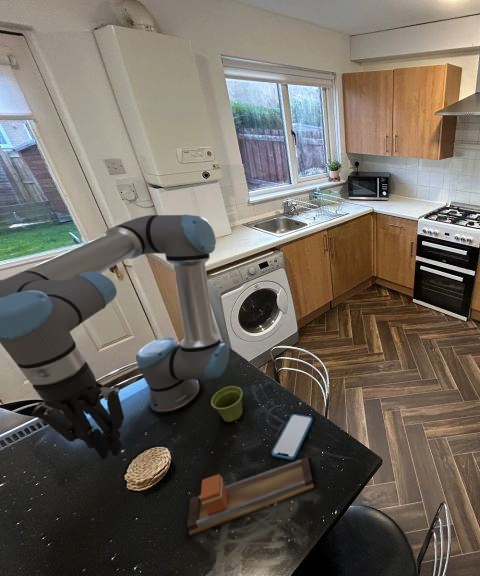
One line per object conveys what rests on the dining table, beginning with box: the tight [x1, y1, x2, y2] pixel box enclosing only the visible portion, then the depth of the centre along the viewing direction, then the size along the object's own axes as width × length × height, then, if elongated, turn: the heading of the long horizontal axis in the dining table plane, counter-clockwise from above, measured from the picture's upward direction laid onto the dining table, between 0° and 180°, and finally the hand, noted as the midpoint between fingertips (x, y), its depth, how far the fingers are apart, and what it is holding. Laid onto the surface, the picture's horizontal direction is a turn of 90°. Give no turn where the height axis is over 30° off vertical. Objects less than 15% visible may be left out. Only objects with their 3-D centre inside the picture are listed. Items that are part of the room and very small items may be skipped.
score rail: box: [186, 456, 315, 537], centre depth 83 cm, size 8×30×3 cm, turn 112°
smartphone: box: [271, 413, 313, 461], centre depth 99 cm, size 8×1×15 cm
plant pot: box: [210, 385, 244, 423], centre depth 104 cm, size 9×9×9 cm
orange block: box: [200, 473, 228, 516], centre depth 78 cm, size 5×4×9 cm
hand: (112, 451), depth 68 cm, fingers closed
